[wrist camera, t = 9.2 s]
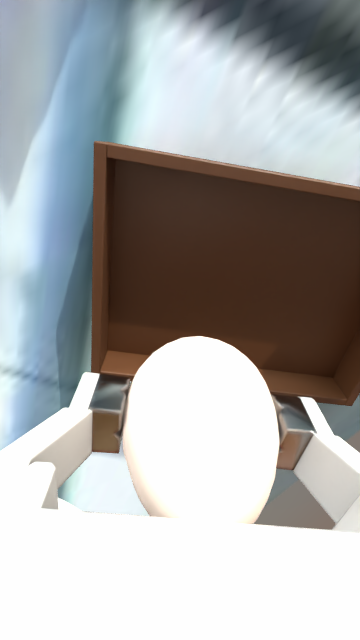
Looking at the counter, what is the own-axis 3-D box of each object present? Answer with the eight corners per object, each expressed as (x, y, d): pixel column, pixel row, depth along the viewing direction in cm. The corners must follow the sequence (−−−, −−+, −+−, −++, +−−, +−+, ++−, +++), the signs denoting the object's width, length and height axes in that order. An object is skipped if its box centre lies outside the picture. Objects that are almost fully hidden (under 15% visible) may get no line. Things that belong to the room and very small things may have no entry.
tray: (430, 199, 18) (473, 208, 15) (333, 379, 25) (351, 406, 22) (106, 141, 16) (93, 141, 14) (100, 351, 23) (90, 377, 21)
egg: (214, 283, 11) (258, 443, 5) (271, 371, 13) (349, 555, 7) (111, 345, 12) (50, 528, 6) (177, 415, 14) (178, 602, 8)
